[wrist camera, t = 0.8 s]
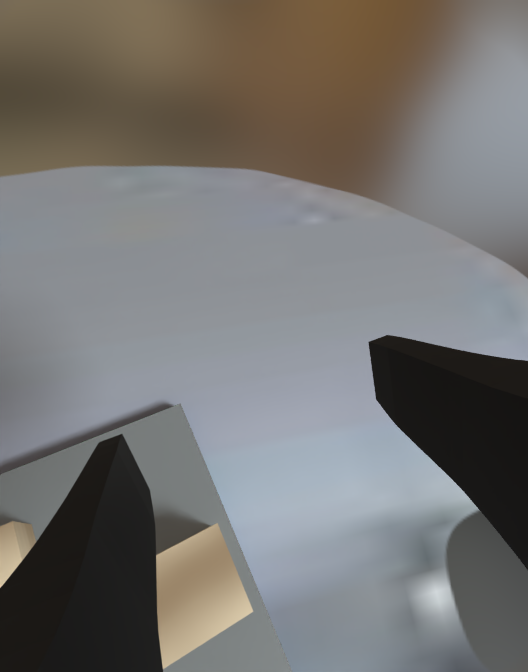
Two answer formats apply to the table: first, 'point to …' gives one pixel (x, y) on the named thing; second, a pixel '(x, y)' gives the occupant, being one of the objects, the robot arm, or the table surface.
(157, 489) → the slate board
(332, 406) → the table surface
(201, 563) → the t block
